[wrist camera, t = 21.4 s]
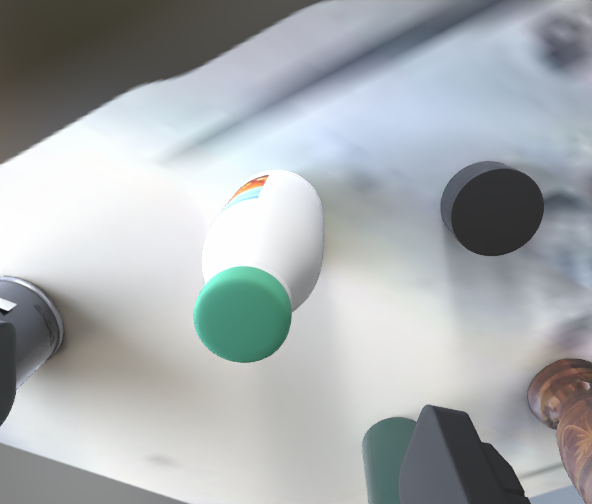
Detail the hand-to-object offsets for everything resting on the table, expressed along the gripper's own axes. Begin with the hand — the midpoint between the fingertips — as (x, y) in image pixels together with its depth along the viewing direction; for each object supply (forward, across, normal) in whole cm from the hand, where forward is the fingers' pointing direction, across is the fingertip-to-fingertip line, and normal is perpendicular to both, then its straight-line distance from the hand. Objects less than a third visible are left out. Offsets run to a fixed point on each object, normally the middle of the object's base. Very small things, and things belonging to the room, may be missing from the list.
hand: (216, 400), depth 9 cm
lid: (+31, -17, +1) cm, 35 cm away
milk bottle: (+32, 0, +5) cm, 32 cm away
